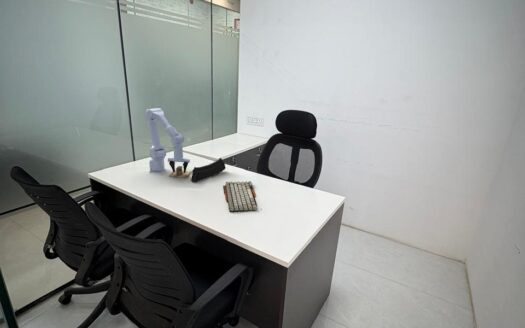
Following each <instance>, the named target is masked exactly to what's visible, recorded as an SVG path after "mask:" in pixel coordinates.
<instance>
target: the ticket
mask: <svg viewBox="0 0 525 328" xmlns="http://www.w3.org/2000/svg"><path fill="white" fill-rule="evenodd" d="M193 169H194V167H189V166H187V168H186V172H191V174H192V172H193ZM175 171H176V169H175ZM182 172H184V168H183V166H182Z"/></svg>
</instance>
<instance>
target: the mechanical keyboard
mask: <svg viewBox="0 0 525 328" xmlns="http://www.w3.org/2000/svg"><path fill="white" fill-rule="evenodd" d="M222 189H223V195H224V197H225V202H226V203H227V204H228V211H229V213H246V212H254V211H258V208H257V207H258V203H257V201H256V198H257V194H256V191H255V189H254V185H253V183H252V181H251V180H249V181H225V185H222ZM260 210H261V211H262V208H260Z"/></svg>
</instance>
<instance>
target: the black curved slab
mask: <svg viewBox="0 0 525 328" xmlns="http://www.w3.org/2000/svg"><path fill="white" fill-rule="evenodd" d="M193 168H194V169H193V172H192V173H191V174H192V175H191V179H190V182H192V183H197V182H200V181H203V180H206V179H209V178H210V177H211V178H213V177H215V176H217V175H218V174H221V173H220V172H223V171H224V170H226V169H227V168H226V163H225V162H224V160H223V158H221V157H219V159H217V160H215V161H213V162H211V163H209V164H206V165H202V166H199V167H196V166H194V167H193Z"/></svg>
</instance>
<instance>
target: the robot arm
mask: <svg viewBox="0 0 525 328" xmlns="http://www.w3.org/2000/svg"><path fill="white" fill-rule="evenodd" d="M144 114H145V118H146V122H147V126H148V130H149V136H150V139H151V145H152V146H151V147H150V148H149V156H150V159H149V163H148V164H149V172H150V173H153V172H163V171H165V170H166V168H165V158H166V156H167V151H166V150H165V147H164V145H162V144H161V140H160V134H159V130H158V126H157V122H158V121H159V123H161V125H162V126H163V127H164V128H165V132H166V133H167V135H168V136H169V137H170V141H171V144H172V147H173V157H169V158H167V162H168V164H169V166H170V168H171V170H172V172H175V170H176V166H175V165H176V163H182V167H183V168H184V173H185V172H186V168H187V167H188V164H190V162H191V159H189V158H184V151H183V150H184V149H183V148H184V147H183V146H184V145H183V143H184V141H185V137H184V136H183V134H181V133H179V132H178V131H177V129H176V128H175V127H174V126H173V125H171V124H170V123H169V121H168V120H167V118H166V116H165V112H164V110H163V109H162V108H160V107H158V108H147V109H146V111H145V113H144Z"/></svg>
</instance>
